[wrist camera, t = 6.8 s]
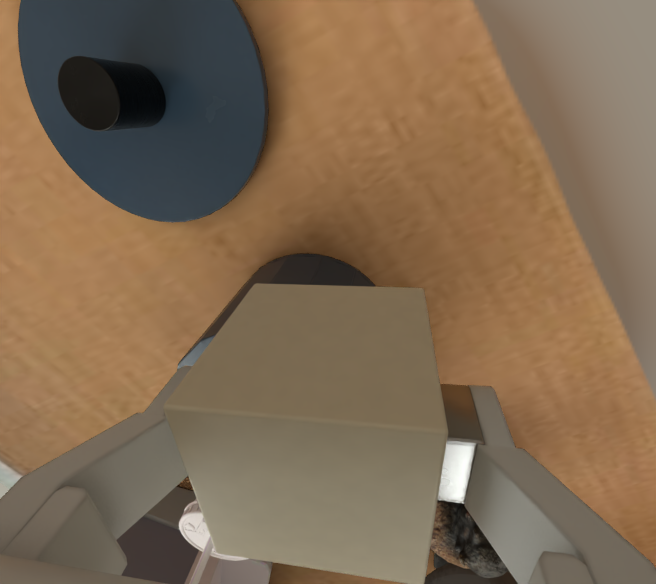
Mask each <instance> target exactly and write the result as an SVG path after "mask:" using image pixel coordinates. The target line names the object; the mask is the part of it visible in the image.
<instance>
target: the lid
mask: <svg viewBox="0 0 656 584" xmlns="http://www.w3.org/2000/svg"><path fill="white" fill-rule="evenodd" d="M18 42H19V52H20V60H21V66H22V70H23V75H24V79H25V83H26V86H27V90H28V93H29V96H30V99H31V102H32V104H33V106H34V109H35V111H36V113H37V116H38V118H39V120H40V122H41V124H42V126H43V128H44V130H45V131H46V133H47V135H48V137H49V138H50V140H51V142H52V143H53V145H54V146H55V148H56V149H57V151H58V152H59V154H60V155H61V156H62V157H63V159H64V160H65V161H66V163H67V164H68V165H69V166H70V167H71V169H72V170H73V171H74V172H75V173H76V174H77V175H78V176H79V177H80V178H81V179H82V180H83V181H84V182H85V183H86V184H87V185H88V186H89V187H91V188H92V189H93V190H94V191H95V192H97V193H98V194H99V195H101V196H102V197H103V198H105V199H106V200H108V201H109V202H111V203H113V204H114V205H116V206H118V207H119V208H121V209H123V210H126V211H128V212H130V213H132V214H135V215H138V216H141V217H143V218H147V219H151V220H156V221H163V222H186V221H190V220H195V219H199V218H202V217H204V216H207V215H210V214H212V213H213V212H215V211H217V210H219V209H220V208H222V207H224V206H225V205H227V204H228V203H229V202H230V201H232V200H233V199H234V198H235V197H236V196H237V195H238V194H239V193H240V192H241V191H242V190H243V188H244V187H245V186H246V184H247V183H248V181H249V180H250V178H251V177H252V175H253V173H254V171H255V169H256V167H257V165H258V163H259V160H260V157H261V154H262V151H263V148H264V144H265V139H266V133H267V127H268V111H269V108H268V89H267V83H266V77H265V70H264V66H263V63H262V59H261V55H260V52H259V48H258V45H257V43H256V40H255V38H254V35H253V32H252V30H251V27H250V25H249V24H248V22H247V20H246V18H245V16H244V14H243V12H242V10H241V8H240V6H239V5H238V3H237V2H236V0H21V3H20V9H19V21H18Z"/></svg>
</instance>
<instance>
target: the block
mask: <svg viewBox="0 0 656 584" xmlns="http://www.w3.org/2000/svg"><path fill="white" fill-rule="evenodd" d="M163 410H164V412H165V415H166V418H167V420H168V423H169V426H170V428H171V431H172V434H173V437H174V439H175V442H176V445H177V447H178V450H179V453H180V455H181V458H182V461H183V464H184V466H185V469H186V472H187V474H188V477H189V480H190V482H191V485H192V488H193V491H194V493H195V496H196V499H197V501H198V504H199V507H200V509H201V512H202V515H203V518H204V520H205V523H206V526H207V528H208V531H209V534H210V536H211V539H212V542H213V545H214V547H215V550H216V552H217V553H219V554H225V555H231V556H238V557H244V558H250V559H256V560H263V561H269V562H275V563H281V564H288V565H294V566H300V567H306V568H313V569H319V570H325V571H331V572H338V573H344V574H350V575H356V576H363V577H369V578H375V579H381V580H388V581H394V582H400V583H406V584H424V583H425V577H426V571H427V564H428V558H429V552H430V545H431V539H432V533H433V526H434V520H435V513H436V507H437V501H438V494H439V488H440V482H441V475H442V469H443V463H444V456H445V450H446V443H447V437H448V428H447V422H446V416H445V410H444V404H443V398H442V392H441V386H440V380H439V375H438V369H437V363H436V357H435V351H434V345H433V339H432V333H431V327H430V322H429V316H428V310H427V304H426V298H425V292H424V289H423V288H406V287H369V286H332V285H295V284H259V283H256V284H254V285H253V286H252V288H251V289H250V290H249V292H248V293H247V294H246V296H245V297H244V298H243V300H242V301H241V302H240V304H239V305H238V306H237V308H236V309H235V310H234V312H233V313H232V314H231V316H230V317H229V318H228V320H227V321H226V322H225V324H224V325H223V326H222V328H221V329H220V330H219V332H218V333H217V334H216V336H215V337H214V338H213V340H212V341H211V342H210V344H209V345H208V346H207V348H206V349H205V350H204V352H203V353H202V354H201V356H200V357H199V358H198V360H197V361H196V362H195V364H194V365H193V366H192V368H191V369H190V370H189V372H188V373H187V374H186V376H185V377H184V378H183V380H182V381H181V382H180V384H179V385H178V386H177V388H176V389H175V390H174V392H173V393H172V394H171V396H170V397H169V398H168V400H167V401H166V402H165V404H164V406H163Z"/></svg>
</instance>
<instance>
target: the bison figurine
mask: <svg viewBox="0 0 656 584" xmlns="http://www.w3.org/2000/svg"><path fill="white" fill-rule="evenodd" d="M464 505H465V504H463V503H456V502H449V501H442V500H438V501H437V507H436V513H435V520H434V526H433V533H432V539H431V545H430V549H431V550H432V551H433V552H435V553H436V554H437V555H439V556H440V557H442V558H443V559H445V560H446V561H447V562H449V563H452V564H454V565H457V566H460V567H462V568H466V569H471V570H472V571H473V572H475V573H476V574H477V575H479V576H481V577H484V578H494V577H499V576H502V575H504V574H505V573H506V572H507V570H508V569H507V567H506V566H505V564H504V563H503V561H502V560H501V558H500V557H499V555H498V554H497V553H496V551H495V550H494V548H493V547H492V545H491V544H490V542H489V541H488V540H487V538H486V537H485V535H484V534H483V532H482V531H481V529H480V528H479V526H478V525H477V524H476V522H475V521H474V519H473V518H472V516H471V515H470V513H469V512H468V510H467V509H466V508H465V506H464Z"/></svg>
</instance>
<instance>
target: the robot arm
mask: <svg viewBox="0 0 656 584" xmlns="http://www.w3.org/2000/svg"><path fill="white" fill-rule="evenodd" d="M191 368H192V366H186V365H185V366H183V367H181V368H179V369H178V370H177V372H176V373H175V374H174V375H173V377H172V378H171V379H170V380H169V382H168V383H167V384H166V385H165V387H164V388H163V389H162V390H161V392H160V393H159V394H158V395H157V397H156V398H155V399H154V400H153V402H152V403H151V404H150V405H149V407H148V408H147V409H146V410H145V412H144V413H136V414H134V415H132V416H131V417H129V418H127V419H125V420H123V421H122V422H120V423H118V424H116V425H114V426H113V427H111V428H109V429H107V430H106V431H104V432H102V433H100V434H98V435H97V436H95V437H93V438H91V439H89V440H88V441H86V442H84V443H82V444H80V445H79V446H77V447H75V448H73V449H72V450H70V451H68V452H66V453H64V454H63V455H61V456H59V457H57V458H55V459H54V460H52V461H50V462H48V463H47V464H45V465H43V466H41V467H39V468H38V469H36V470H34V471H32V472H30V473H29V474H27V475H25V476H23V477H21V478H20V479H19V481H18V482H17V483H16V484H15V485H14V486H13V487H12V488H11V489H10V490H9V491H8V492H7V493H6V494H5V495H4V496H3V497H2V498H1V499H0V584H166V583H160V582H155V581H149V580H144V579H138V578H132V577H127V576H121V575H122V573H123V571H124V569H125V568H126V566H127V558H126V555H125V554H124V552H123V551H122V549H121V547H120V546H119V544H118V542H117V541H116V540H117V539H118V538H119V537H120V536H121V535H122V534H124V533H125V532H126V531H127V530H128V529H129V528H130V527H131V526H133V525H134V524H135V523H136V522H137V521H138V520H139V519H140V518H141V517H143V516H144V515H145V514H146V513H147V512H148V511H149V510H150V509H151V508H153V507H154V506H155V505H156V504H157V503H158V502H159V501H160V500H162V499H163V498H164V497H165V496H166V495H167V494H168V493H169V492H170V491H172V490H173V489H174V488H175V487H176V486H177V485H178V484H179V483H181V482H182V481H183V480H184V479H185V478H186V477H187V476H188V474H187V472H186V469H185V466H184V464H183V461H182V458H181V455H180V453H179V450H178V447H177V445H176V442H175V439H174V437H173V434H172V431H171V428H170V426H169V423H168V420H167V418H166V415H165V412H164V410H163V406H164V404H165V402H166V401H167V400H168V398H169V397H170V396H171V394H172V393H173V392H174V390H175V389H176V388H177V386H178V385H179V384H180V382H181V381H182V380H183V378H184V377H185V376H186V374H187V373H188V372H189V370H190V369H191ZM440 386H441V392H442V398H443V404H444V410H445V416H446V422H447V428H448V437H447V443H446V450H445V456H444V463H443V469H442V475H441V482H440V488H439V494H438V500H442V501H449V502H456V503H463V504H465V505H464V506H465V508H466V509H467V510H468V512H469V513H470V515H471V516H472V518H473V519H474V521H475V522H476V524H477V525H478V526H479V528H480V529H481V531H482V532H483V534H484V535H485V537H486V538H487V540H488V541H489V542H490V544H491V545H492V547H493V548H494V550H495V551H496V553H497V554H498V555H499V557H500V558H501V560H502V561H503V563H504V564H505V566H506V567H507V569H508V570H509V571H510V573H511V574H512V576H513V577H514V579H515V580H516V582H517V583H518V584H656V569H655V567H654V565H653V563H651V562H650V561H649V560H648V559H647V558H646V557H645V556H644V555H642V554H641V553H640V552H639V551H638V550H637V549H636V548H635V547H633V546H632V545H631V544H630V543H629V542H628V541H627V540H626V539H624V538H623V537H622V536H621V535H620V534H619V533H618V532H617V531H615V530H614V529H613V528H612V527H611V526H610V525H609V524H608V523H606V522H605V521H604V520H603V519H602V518H601V517H600V516H599V515H597V514H596V513H595V512H594V511H593V510H592V509H591V508H590V507H588V506H587V505H586V504H585V503H584V502H583V501H582V500H581V499H579V498H578V497H577V496H576V495H575V494H574V493H573V492H572V491H570V490H569V489H568V488H567V487H566V486H565V485H564V484H563V483H561V482H560V481H559V480H558V479H557V478H556V477H555V476H554V475H552V474H551V473H550V472H549V471H548V470H547V469H546V468H545V467H543V466H542V465H541V464H540V463H539V462H538V461H537V460H536V459H534V458H533V457H532V456H531V455H530V454H529V453H528V452H527V451H526V450H524V449H520V448H516V447H515V444H514V442H513V439H512V436H511V434H510V431H509V428H508V425H507V423H506V420H505V417H504V414H503V412H502V409H501V406H500V403H499V401H498V398H497V395H496V392H495V390H494V389H493V388H492V387H491V386H476V385H468V386H466V385H453V384H440Z"/></svg>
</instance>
